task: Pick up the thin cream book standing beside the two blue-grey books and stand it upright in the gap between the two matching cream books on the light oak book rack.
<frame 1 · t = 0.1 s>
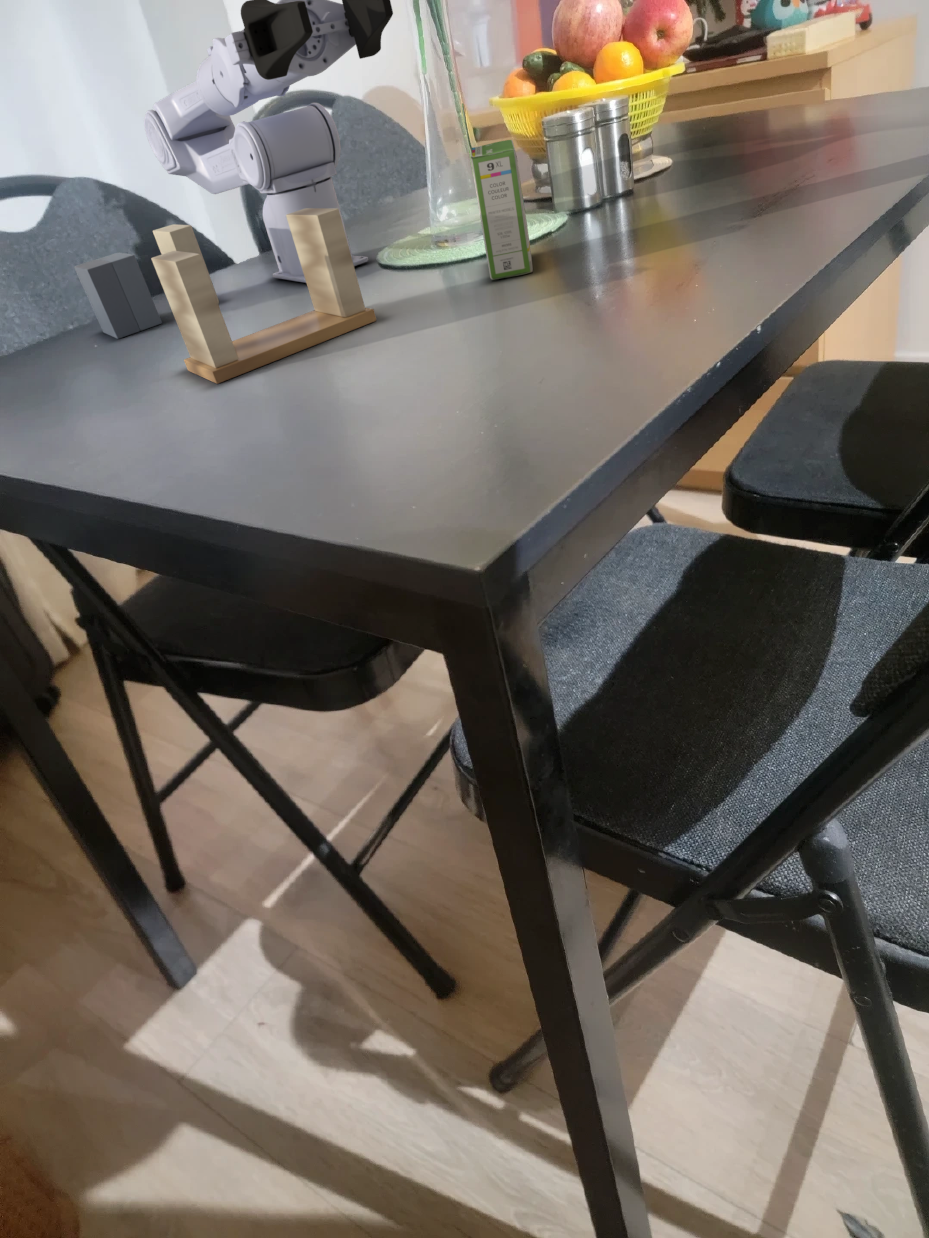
hand: (346, 9, 67), 22 cm above the table, tool horizontal, fingers open, 7 cm apart
grey books: (132, 328, 89), on the table
cream book: (200, 304, 92), on the table
ink box: (512, 271, 75), on the table
book rack: (282, 345, 70), on the table
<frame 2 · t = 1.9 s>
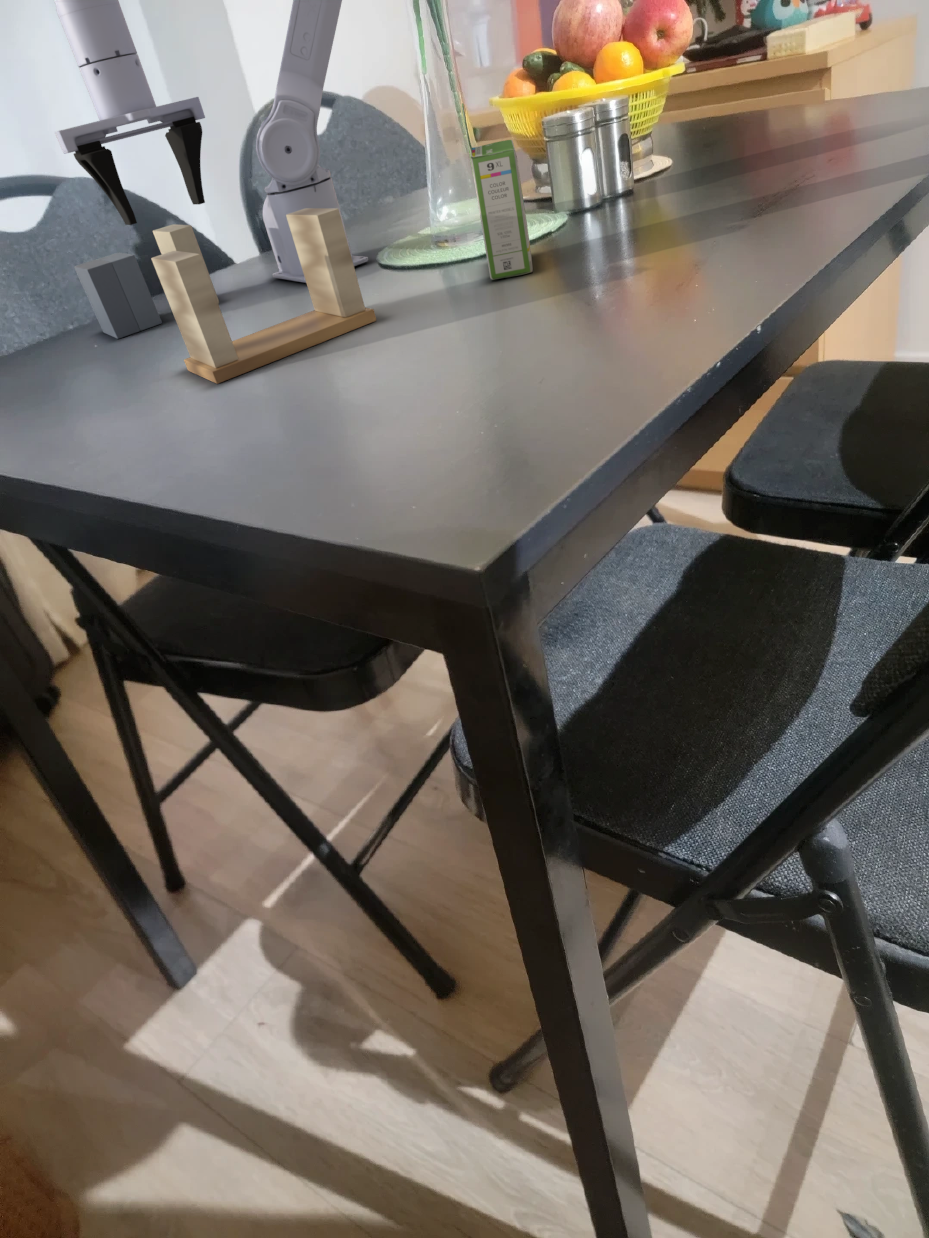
hand: (165, 213, 87), 9 cm above the table, tool pointing down, fingers open, 7 cm apart
nothing on the table moved.
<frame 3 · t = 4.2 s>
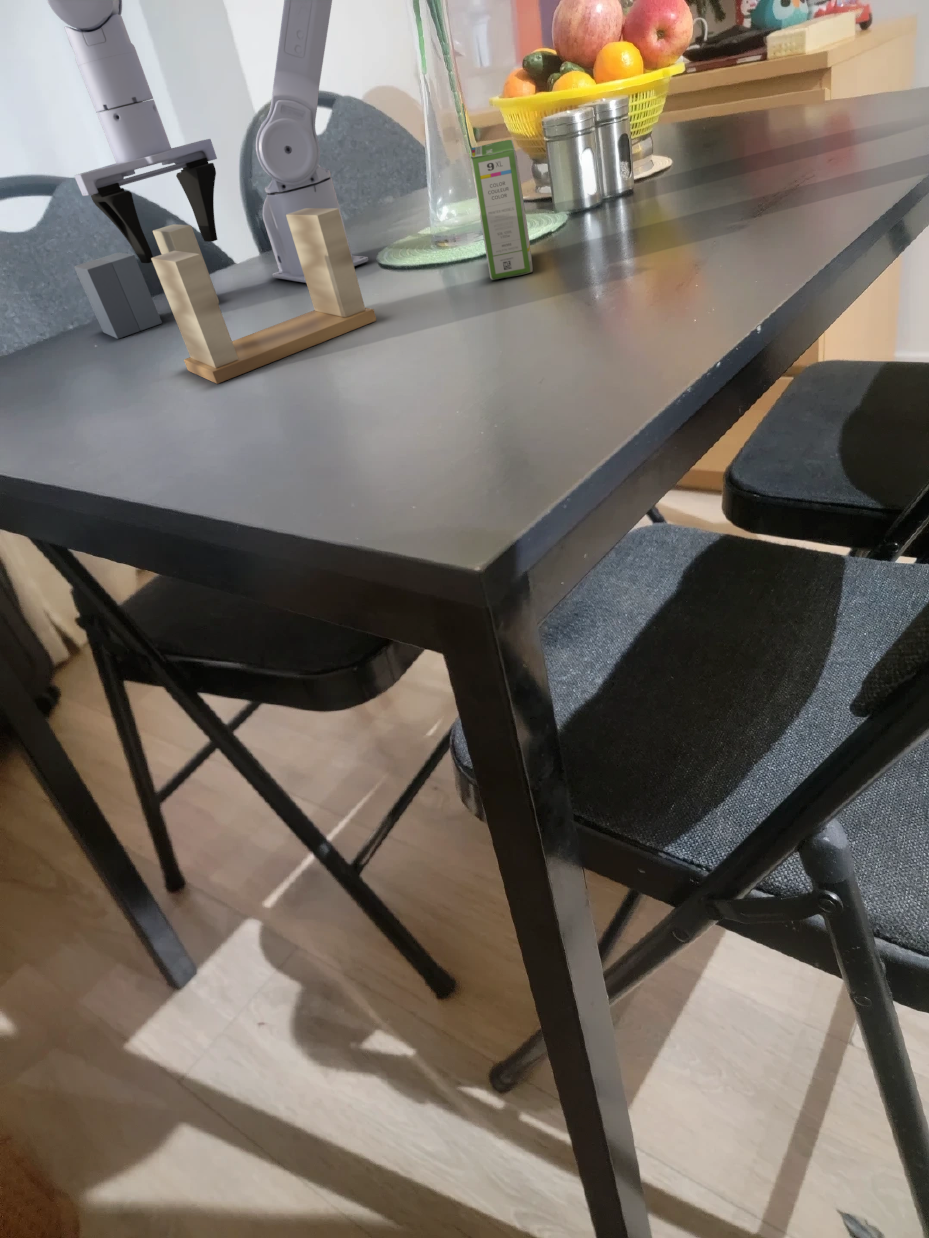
hand: (180, 251, 89), 6 cm above the table, tool pointing down, fingers open, 7 cm apart
nothing on the table moved.
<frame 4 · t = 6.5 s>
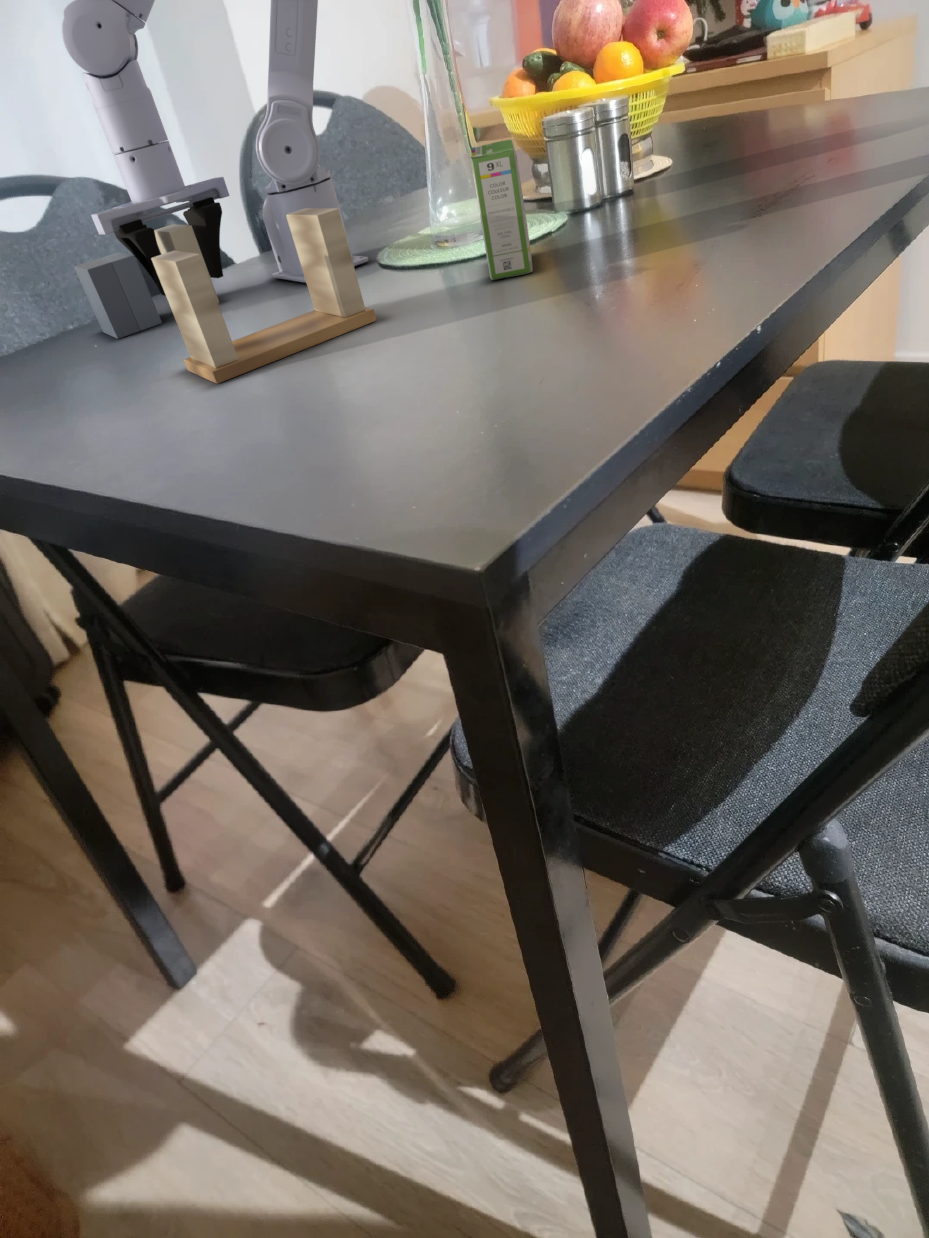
hand: (193, 285, 91), 2 cm above the table, tool pointing down, fingers open, 5 cm apart
nothing on the table moved.
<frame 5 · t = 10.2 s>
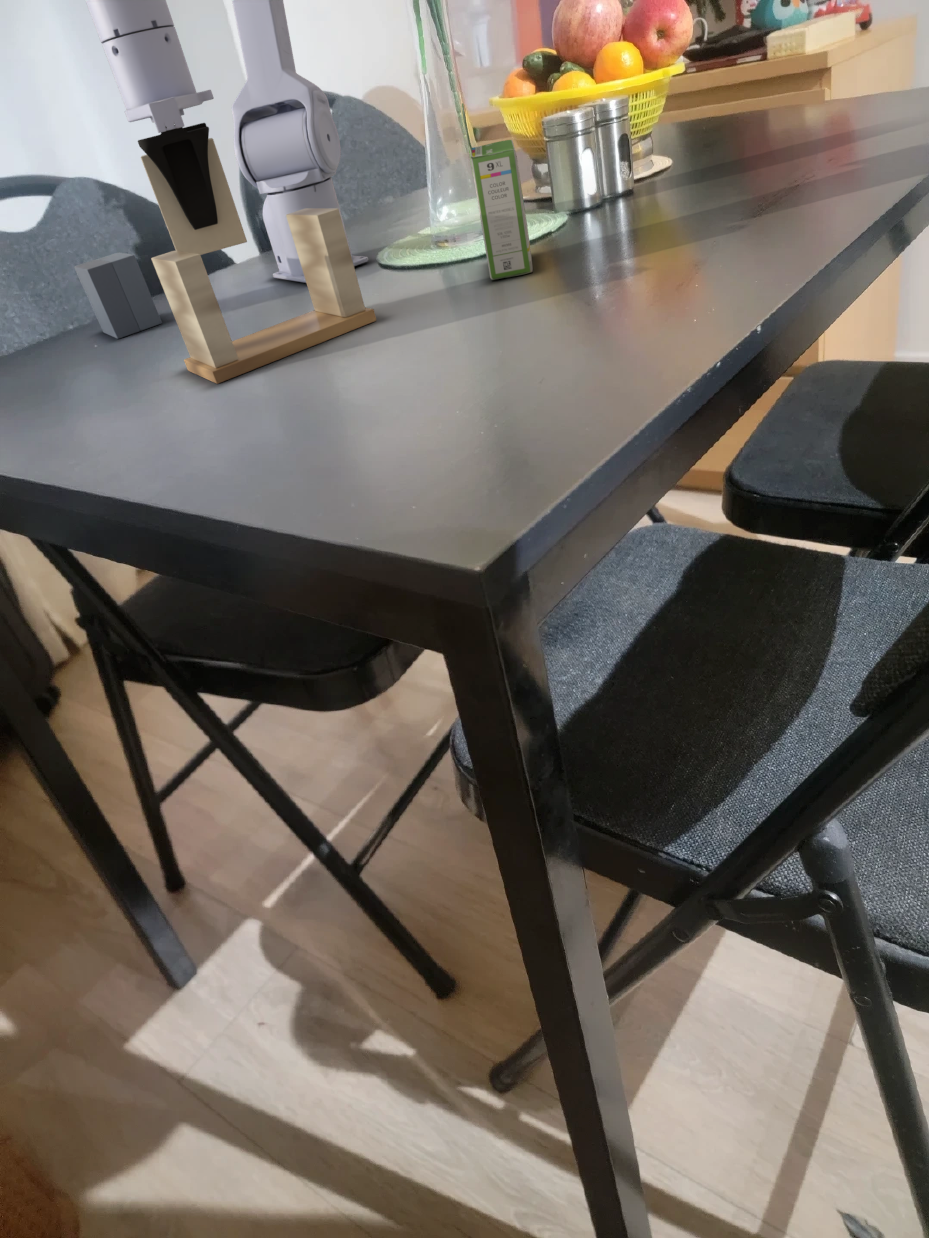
hand: (205, 225, 71), 9 cm above the table, tool pointing down, fingers closed on cream book, 2 cm apart
cream book: (213, 249, 72), point 7 cm above the table, touching gripper
everything else where it was.
when the fingers open (3 cm above the table, at t = 13.4 s): cream book stays where it is, resting on book rack.
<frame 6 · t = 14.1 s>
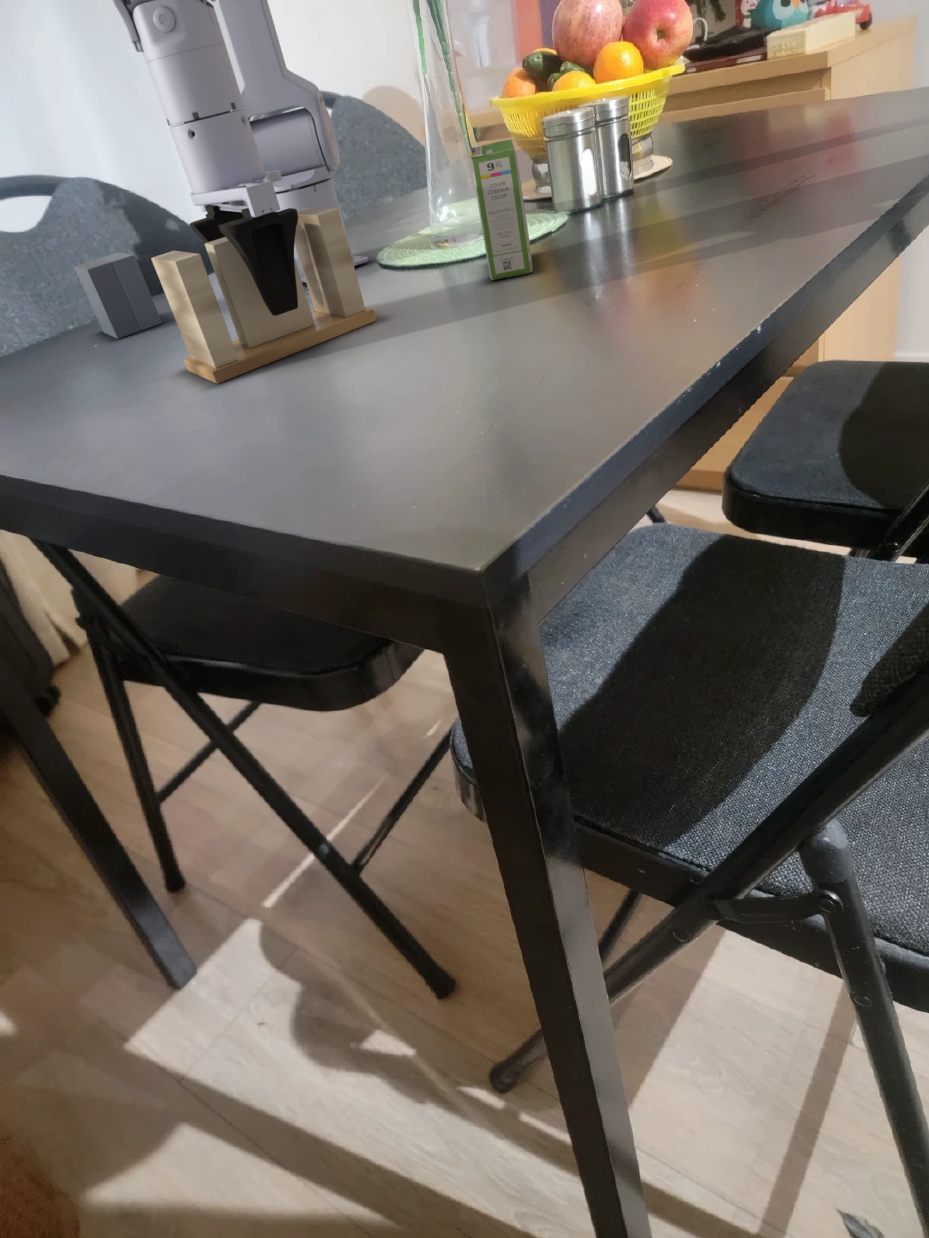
hand: (269, 306, 68), 3 cm above the table, tool pointing down, fingers open, 7 cm apart
cream book: (277, 334, 69), point 1 cm above the table, touching book rack
everything else where it was.
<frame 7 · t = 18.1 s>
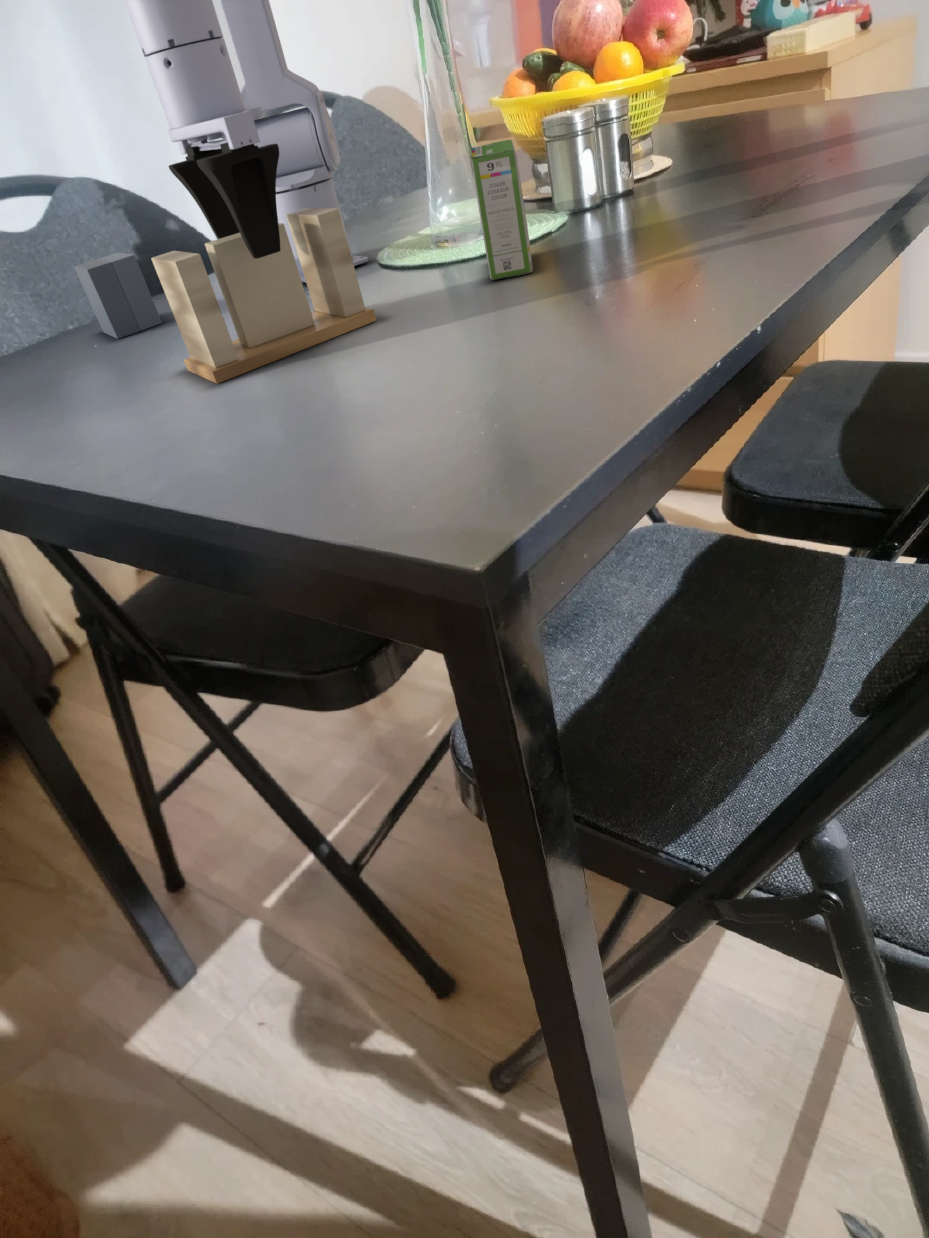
hand: (251, 251, 66), 8 cm above the table, tool pointing down, fingers open, 7 cm apart
nothing on the table moved.
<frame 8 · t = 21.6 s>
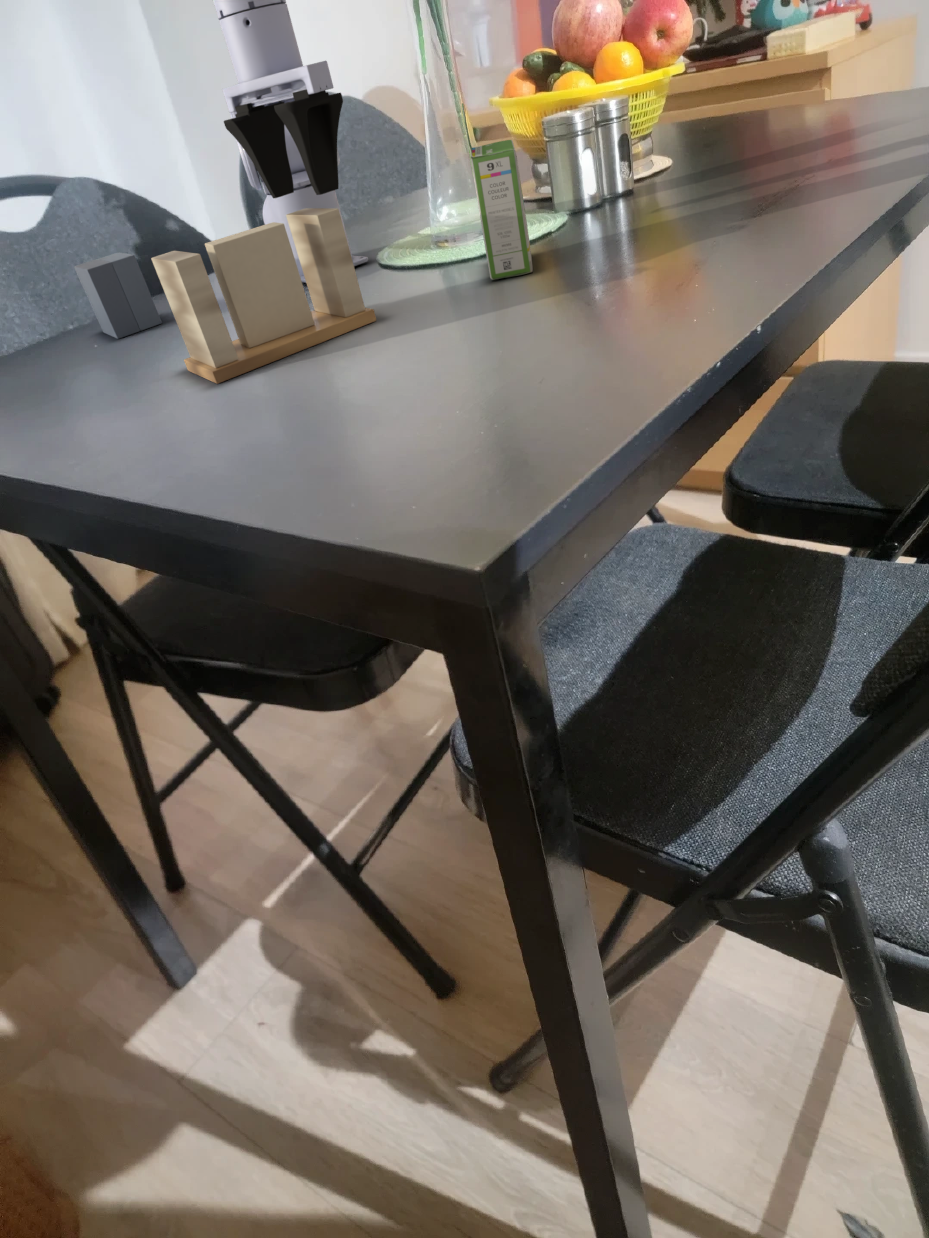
hand: (304, 194, 75), 9 cm above the table, tool pointing down, fingers open, 7 cm apart
nothing on the table moved.
at the end: cream book 0.1 cm off-centre on the book rack, point 1.0 cm above the book rack's base; cream book tilted 0°; the gripper is holding nothing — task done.
